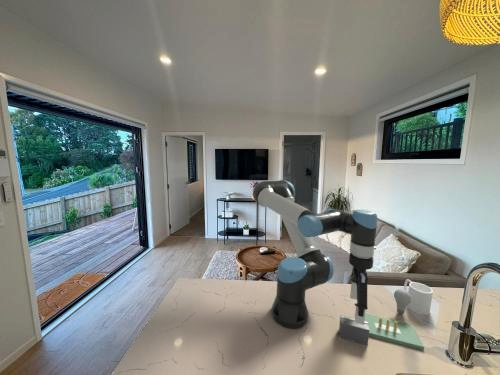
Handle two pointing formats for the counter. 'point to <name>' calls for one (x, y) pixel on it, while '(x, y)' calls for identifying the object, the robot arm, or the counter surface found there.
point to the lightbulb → (402, 300)
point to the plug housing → (353, 330)
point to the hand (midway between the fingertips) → (356, 309)
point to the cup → (419, 297)
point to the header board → (393, 331)
